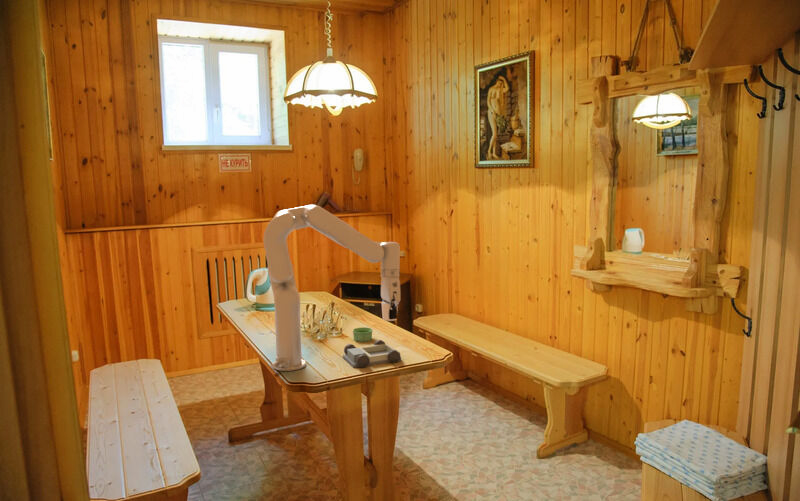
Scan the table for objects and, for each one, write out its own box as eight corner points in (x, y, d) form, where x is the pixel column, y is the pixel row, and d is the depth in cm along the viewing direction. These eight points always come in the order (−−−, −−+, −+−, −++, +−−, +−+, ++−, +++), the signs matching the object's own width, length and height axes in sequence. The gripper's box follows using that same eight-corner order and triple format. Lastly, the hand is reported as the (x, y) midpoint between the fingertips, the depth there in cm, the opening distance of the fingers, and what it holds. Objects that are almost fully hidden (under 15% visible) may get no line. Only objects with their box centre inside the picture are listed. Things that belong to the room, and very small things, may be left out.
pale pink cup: (396, 321, 220) (396, 304, 219) (379, 320, 221) (379, 303, 220) (399, 317, 226) (399, 300, 225) (383, 316, 228) (383, 299, 227)
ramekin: (359, 343, 244) (359, 333, 243) (349, 338, 251) (348, 329, 251) (376, 339, 249) (376, 330, 249) (365, 335, 256) (365, 326, 256)
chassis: (355, 369, 211) (354, 357, 210) (341, 356, 226) (341, 345, 225) (403, 361, 219) (402, 349, 218) (386, 349, 234) (386, 338, 233)
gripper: (407, 275, 215) (407, 321, 217) (390, 269, 230) (389, 311, 233) (389, 277, 212) (389, 322, 214) (373, 270, 227) (372, 313, 230)
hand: (389, 316), depth 223 cm, fingers closed on pale pink cup, 6 cm apart
